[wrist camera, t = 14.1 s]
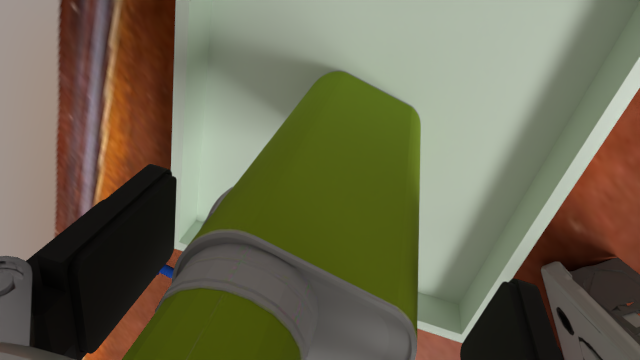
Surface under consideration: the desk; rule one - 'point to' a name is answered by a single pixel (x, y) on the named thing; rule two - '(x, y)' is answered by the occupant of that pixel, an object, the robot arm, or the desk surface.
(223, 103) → the parts tray
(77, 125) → the desk surface
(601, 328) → the electrical switch
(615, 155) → the desk surface
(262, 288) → the vape
